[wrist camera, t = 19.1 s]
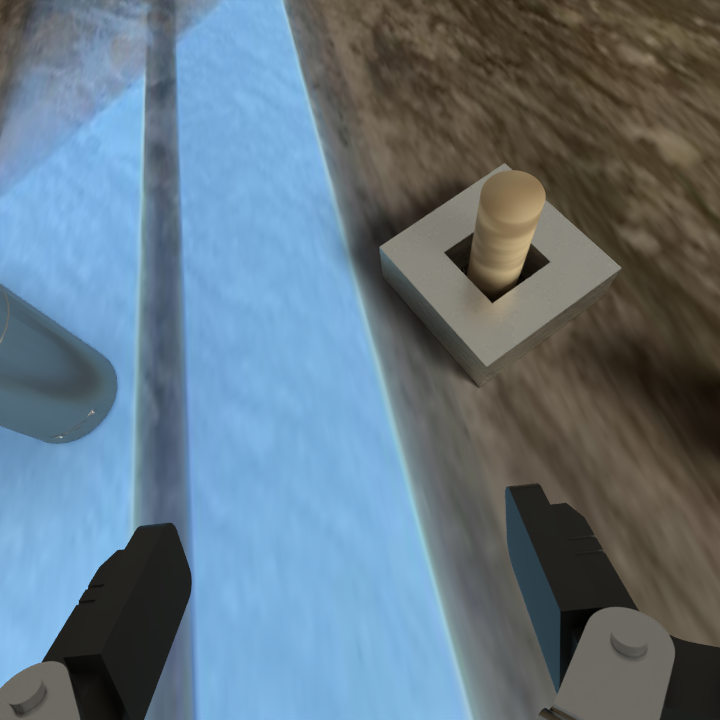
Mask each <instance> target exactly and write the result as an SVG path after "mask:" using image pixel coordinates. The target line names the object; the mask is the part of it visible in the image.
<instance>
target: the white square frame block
mask: <svg viewBox="0 0 720 720" xmlns="http://www.w3.org/2000/svg"><path fill="white" fill-rule="evenodd" d="M509 170H512V169H510V168H509V167H508V166H507V165H506V164H503V165H502V166H500V167H499V168H497V169H496V170H494V171H493V172H491V173H490V174H488V175H487V176H485V177H484V178H482V179H481V180H479V181H478V182H476V183H475V184H473V185H472V186H470V187H469V188H467V189H466V190H464V191H463V192H461V193H460V194H458V195H457V196H455V197H454V198H452V199H451V200H449V201H448V202H446V203H445V204H443V205H442V206H440V207H439V208H437V209H436V210H434V211H433V212H431V213H430V214H428V215H427V216H425V217H424V218H422V219H421V220H419V221H418V222H416V223H415V224H413V225H412V226H410V227H409V228H407V229H406V230H404V231H403V232H401V233H400V234H398V235H397V236H395V237H394V238H392V239H391V240H389V241H388V242H386V243H385V244H383V245H382V246H380V247H379V248H380V256H381V265H382V274H383V278H384V279H385V280H386V281H387V282H388V283H389V284H390V286H391V287H392V288H393V289H394V290H395V291H396V292H397V294H398V295H399V296H400V297H401V298H402V299H403V301H404V302H405V303H406V304H407V305H408V306H409V307H410V309H411V310H412V311H413V312H414V313H415V314H416V315H417V317H418V318H419V319H420V320H421V321H422V322H423V323H424V325H425V326H426V327H427V328H428V329H429V330H430V332H431V333H432V334H433V335H434V336H435V337H436V338H437V340H438V341H439V342H440V343H441V344H442V345H443V346H444V348H445V349H446V350H447V351H448V352H449V353H450V354H451V356H452V357H453V358H454V359H455V360H456V361H457V363H458V364H459V365H460V366H461V367H462V368H463V369H464V371H465V372H466V373H467V374H468V375H469V376H470V377H471V379H472V380H473V381H474V382H475V383H476V384H477V385H478V387H479V388H480V387H481V386H483V385H484V384H486V383H487V382H488V381H490V380H491V379H492V378H494V377H495V376H496V375H498V374H499V373H500V372H502V371H503V370H505V369H506V368H507V367H509V366H510V365H511V364H513V363H514V362H515V361H517V360H518V359H519V358H521V357H522V356H524V355H525V354H526V353H528V352H529V351H530V350H532V349H533V348H534V347H536V346H537V345H538V344H540V343H541V342H543V341H544V340H545V339H547V338H548V337H549V336H551V335H552V334H553V333H555V332H556V331H557V330H559V329H560V328H561V327H563V326H564V325H566V324H567V323H568V322H570V321H571V320H572V319H574V318H575V317H576V316H578V315H579V314H580V313H582V312H583V311H585V310H586V309H587V308H589V307H590V306H591V305H593V304H594V303H595V302H597V301H598V300H599V299H601V298H602V297H603V295H604V294H605V292H606V291H607V289H608V288H609V286H610V285H611V283H612V282H613V280H614V279H615V277H616V276H617V274H618V273H619V271H620V270H621V267H620V266H619V265H618V264H617V263H615V262H614V261H613V260H612V259H611V258H610V257H609V256H608V255H606V254H605V253H604V252H603V251H602V250H601V249H600V248H599V247H598V246H596V245H595V244H594V243H593V242H592V241H591V240H590V239H589V238H587V237H586V236H585V235H584V234H583V233H582V232H581V231H580V230H579V229H577V228H576V227H575V226H574V225H573V224H572V223H571V222H570V221H569V220H567V219H566V218H565V217H564V216H563V215H562V214H561V213H560V212H558V211H557V210H556V209H555V208H554V207H553V206H552V205H551V204H550V203H548V202H547V201H546V200H545V203H544V206H543V209H542V212H541V215H540V217H539V220H538V223H537V226H536V229H535V232H534V235H533V238H532V241H531V244H530V247H529V249H528V252H527V255H526V258H525V261H524V264H523V267H522V270H521V273H520V274H521V275H522V276H523V277H524V278H525V279H526V280H525V281H523V282H522V283H521V284H519V285H518V286H516V287H515V288H513V289H512V290H511V291H509V292H508V293H506V294H505V295H504V296H502V297H501V298H499V299H498V300H497V301H495V302H494V303H491V302H490V301H489V300H488V299H487V297H486V296H485V295H484V294H483V293H482V292H481V291H480V290H479V289H478V288H477V287H476V286H475V285H474V284H473V283H472V282H471V281H470V280H469V279H468V278H467V277H466V275H465V274H464V273H463V272H462V271H461V270H460V269H461V268H463V267H464V266H466V265H467V264H468V263H469V260H470V254H471V248H472V242H473V236H474V230H475V224H476V218H477V212H478V206H479V200H480V194H481V189H482V187H483V185H484V183H485V182H486V181H487V180H488V179H489V178H490V177H491V176H493V175H495V174H497V173H499V172H502V171H509Z"/></svg>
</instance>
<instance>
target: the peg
mask: <svg viewBox="0 0 720 720" xmlns="http://www.w3.org/2000/svg"><path fill="white" fill-rule="evenodd" d="M544 203H545V191H544V188H543V186H542V184H541V183H540V182H539V181H538V180H537V179H536V178H535V177H533V176H532V175H530V174H528V173H525V172H522V171H516V170H509V171H502V172H499V173H497V174H495V175H493V176H491V177H490V178H489V179H488V180H487V181H486V182H485V183H484V185H483V187H482V189H481V194H480V200H479V206H478V212H477V218H476V224H475V230H474V236H473V242H472V248H471V254H470V260H469V266H468V272H467V278H468V279H469V280H470V281H471V282H472V283H473V284H474V285H475V286H476V287H477V288H478V289H479V290H480V291H481V292H482V293H483V294H484V295H485V296H486V297H487V299H488V300H489V301H490V302H491V303H494V302H495V301H497V300H498V299H499V298H501V297H502V296H504V295H505V294H506V293H508V292H509V291H511V290H512V289H513V288H515V287H516V284H517V281H518V278H519V276H520V273H521V270H522V267H523V264H524V261H525V258H526V255H527V252H528V249H529V247H530V244H531V241H532V238H533V235H534V232H535V229H536V226H537V223H538V220H539V217H540V215H541V212H542V209H543V206H544Z"/></svg>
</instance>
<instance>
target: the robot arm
mask: <svg viewBox="0 0 720 720" xmlns="http://www.w3.org/2000/svg"><path fill="white" fill-rule="evenodd" d="M116 391H117V377H116V374H115V370H114V368H113V366H112V365H111V363H110V361H109V360H108V359H107V358H106V357H105V356H103V355H102V354H101V353H99V352H98V351H96V350H95V349H93V348H92V347H91V346H89V345H88V344H86V343H85V342H83V341H82V340H81V339H79V338H78V337H76V336H75V335H74V334H72V333H71V332H69V331H68V330H66V329H65V328H63V327H62V326H61V325H59V324H58V323H56V322H55V321H53V320H52V319H51V318H49V317H48V316H46V315H45V314H43V313H42V312H41V311H39V310H38V309H36V308H35V307H33V306H32V305H30V304H29V303H28V302H26V301H25V300H23V299H22V298H20V297H19V296H18V295H16V294H15V293H13V292H12V291H10V290H9V289H8V288H6V287H5V286H3V285H2V284H0V426H2V427H4V428H7V429H10V430H13V431H15V432H18V433H21V434H24V435H27V436H30V437H33V438H36V439H39V440H41V441H44V442H47V443H56V444H59V443H68V442H71V441H74V440H77V439H79V438H81V437H83V436H85V435H87V434H89V433H90V432H91V431H92V430H94V429H95V428H96V427H97V426H98V425H99V424H100V423H101V422H102V421H103V420H104V419H105V417H106V416H107V414H108V413H109V411H110V409H111V407H112V405H113V402H114V400H115V396H116ZM505 499H506V526H507V543H508V550H509V555H510V560H511V563H512V567H513V570H514V572H515V575H516V578H517V581H518V584H519V587H520V590H521V592H522V595H523V598H524V601H525V604H526V607H527V610H528V613H529V615H530V618H531V621H532V624H533V627H534V630H535V633H536V635H537V638H538V641H539V644H540V647H541V650H542V653H543V655H544V658H545V661H546V664H547V667H548V670H549V673H550V676H551V678H552V681H553V684H554V687H555V690H556V693H557V696H556V699H555V701H554V703H553V705H552V707H551V708H550V710H548V709H547V708H544V709H542V711H541V712H540V713H539V715H538V717H537V719H536V720H720V648H719V647H714V646H708V645H703V644H697V643H692V642H688V641H684V640H681V639H678V638H675V637H673V636H671V635H669V634H668V633H667V632H666V630H665V629H664V628H663V627H662V626H661V625H660V624H659V623H658V622H656V621H655V620H654V619H652V618H651V617H649V616H647V615H646V614H644V613H641V612H640V611H639V610H638V609H637V607H636V605H635V604H634V602H633V600H632V598H631V597H630V595H629V593H628V592H627V590H626V588H625V586H624V585H623V583H622V581H621V580H620V578H619V576H618V574H617V573H616V571H615V569H614V568H613V566H612V564H611V562H610V561H609V559H608V557H607V556H606V554H605V553H603V549H602V547H601V545H600V544H599V542H598V540H597V538H595V536H594V533H593V531H592V530H591V528H590V526H589V525H588V523H587V521H586V519H585V518H584V517H583V516H582V515H581V514H580V513H578V512H577V511H576V510H574V509H573V508H572V507H571V506H569V505H568V504H567V503H562V504H552V505H550V503H549V501H548V499H547V497H546V495H545V493H544V492H543V490H542V488H541V486H540V485H539V484H538V483H536V484H527V485H518V486H509V487H506V490H505ZM191 586H192V579H191V571H190V568H189V565H188V562H187V559H186V556H185V553H184V550H183V547H182V544H181V541H180V538H179V536H178V533H177V530H176V527H175V526H174V525H173V524H172V523H163V524H154V525H145V526H140V527H138V528H137V529H136V531H135V532H134V534H133V536H132V537H131V539H130V541H129V543H128V544H127V546H126V548H125V549H124V550H117V551H116V552H115V553H114V554H113V555H112V556H111V557H110V558H109V559H108V560H107V561H106V562H104V563H103V564H102V565H101V566H100V567H99V569H98V570H97V572H96V574H95V575H94V577H93V579H92V580H91V582H90V584H89V585H88V589H87V590H85V592H84V593H83V595H82V597H81V598H80V600H79V605H76V607H75V608H74V610H73V611H72V613H71V615H70V616H69V618H68V620H67V621H66V623H65V625H64V626H63V628H62V630H61V631H60V633H59V634H58V636H57V638H56V639H55V641H54V643H53V644H52V646H51V648H50V649H49V651H48V653H47V654H46V656H45V658H44V659H43V661H42V662H41V663H38V664H35V665H33V666H30V667H28V668H26V669H25V670H23V671H21V672H20V673H18V674H16V675H15V676H14V677H12V678H11V679H10V680H9V681H8V682H6V683H5V684H4V685H3V686H2V687H1V688H0V720H144V718H145V716H146V713H147V710H148V708H149V705H150V702H151V700H152V697H153V694H154V692H155V689H156V686H157V683H158V681H159V678H160V675H161V673H162V670H163V667H164V665H165V662H166V659H167V657H168V654H169V651H170V649H171V646H172V643H173V641H174V638H175V635H176V633H177V630H178V627H179V625H180V622H181V619H182V616H183V614H184V611H185V608H186V606H187V603H188V600H189V597H190V594H191Z"/></svg>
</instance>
